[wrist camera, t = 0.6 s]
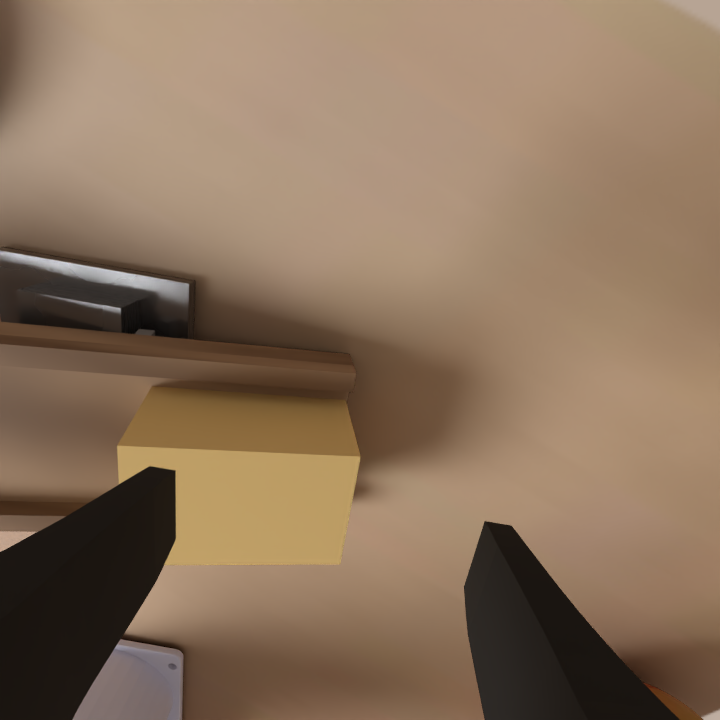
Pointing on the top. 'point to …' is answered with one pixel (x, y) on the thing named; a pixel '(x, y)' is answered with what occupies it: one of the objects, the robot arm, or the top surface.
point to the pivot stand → (92, 296)
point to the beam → (116, 403)
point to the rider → (249, 473)
